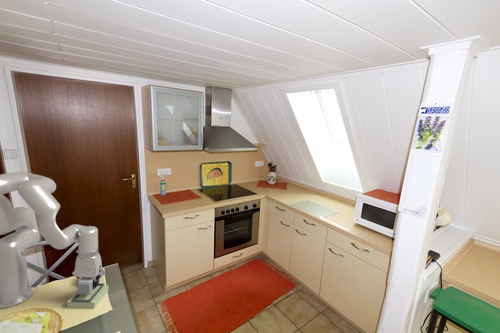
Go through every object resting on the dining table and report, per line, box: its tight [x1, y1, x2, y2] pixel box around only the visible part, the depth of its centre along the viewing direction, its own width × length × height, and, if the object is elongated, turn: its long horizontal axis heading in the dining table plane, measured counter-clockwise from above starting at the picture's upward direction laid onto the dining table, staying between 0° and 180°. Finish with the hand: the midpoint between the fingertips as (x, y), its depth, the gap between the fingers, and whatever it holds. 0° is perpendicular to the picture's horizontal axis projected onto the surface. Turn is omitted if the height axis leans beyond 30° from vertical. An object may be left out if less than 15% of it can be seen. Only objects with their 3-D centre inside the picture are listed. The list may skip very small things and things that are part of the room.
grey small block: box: [77, 273, 101, 294], centre depth 109 cm, size 5×9×6 cm, turn 5°
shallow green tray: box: [66, 282, 109, 309], centre depth 110 cm, size 12×12×4 cm
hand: (89, 286), depth 109 cm, fingers closed on grey small block, 5 cm apart
